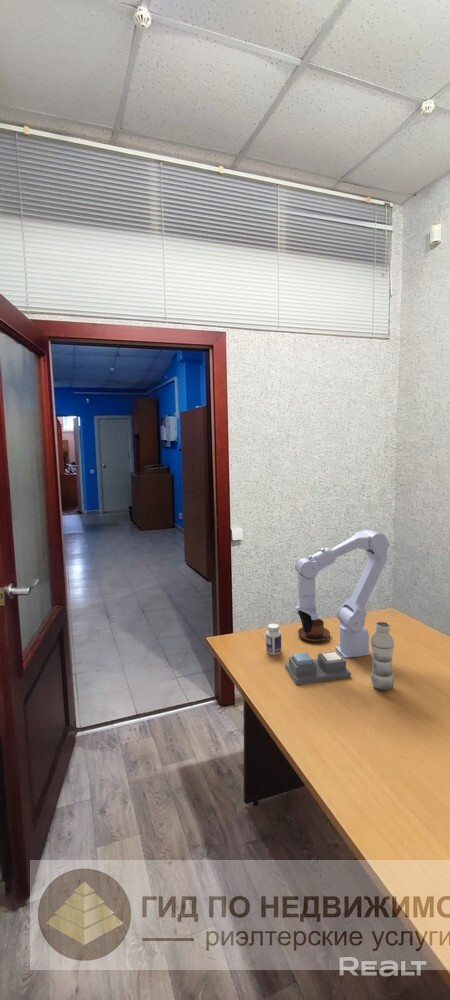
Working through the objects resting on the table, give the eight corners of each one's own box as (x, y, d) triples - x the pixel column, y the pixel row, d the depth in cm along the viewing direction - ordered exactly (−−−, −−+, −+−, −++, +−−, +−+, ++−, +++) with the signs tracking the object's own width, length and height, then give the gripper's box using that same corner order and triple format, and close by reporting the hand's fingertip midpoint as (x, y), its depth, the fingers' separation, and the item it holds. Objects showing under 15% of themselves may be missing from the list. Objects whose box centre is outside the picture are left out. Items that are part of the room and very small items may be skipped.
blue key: (306, 660, 146) (306, 652, 145) (312, 668, 141) (312, 659, 141) (292, 662, 145) (292, 654, 145) (297, 670, 140) (297, 661, 140)
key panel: (335, 660, 151) (336, 648, 151) (350, 677, 141) (350, 663, 140) (285, 667, 148) (285, 654, 148) (296, 684, 137) (296, 671, 137)
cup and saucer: (293, 632, 175) (293, 617, 174) (322, 628, 177) (322, 614, 176) (304, 645, 163) (304, 630, 162) (335, 642, 165) (335, 626, 164)
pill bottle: (281, 648, 162) (280, 622, 160) (281, 655, 156) (281, 629, 155) (266, 647, 162) (265, 622, 161) (266, 655, 157) (265, 628, 156)
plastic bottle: (395, 694, 131) (397, 629, 128) (371, 692, 132) (372, 628, 129) (392, 682, 137) (393, 620, 134) (369, 680, 138) (369, 619, 136)
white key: (335, 660, 148) (335, 652, 147) (341, 667, 143) (341, 659, 143) (321, 662, 147) (321, 653, 147) (327, 669, 142) (327, 660, 142)
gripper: (288, 587, 157) (289, 624, 159) (303, 602, 143) (303, 642, 145) (307, 586, 159) (308, 622, 161) (323, 600, 145) (324, 639, 146)
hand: (307, 631), depth 153 cm, fingers closed
